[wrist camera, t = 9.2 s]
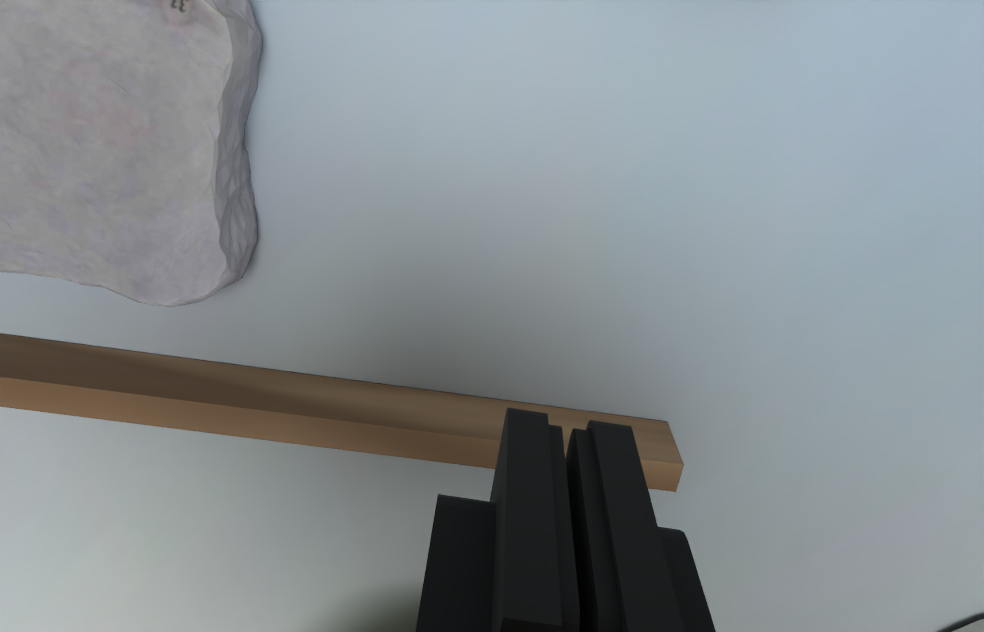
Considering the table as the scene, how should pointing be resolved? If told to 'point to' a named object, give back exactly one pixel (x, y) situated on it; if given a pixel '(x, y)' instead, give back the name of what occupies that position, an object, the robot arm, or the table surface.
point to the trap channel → (289, 406)
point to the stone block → (128, 144)
